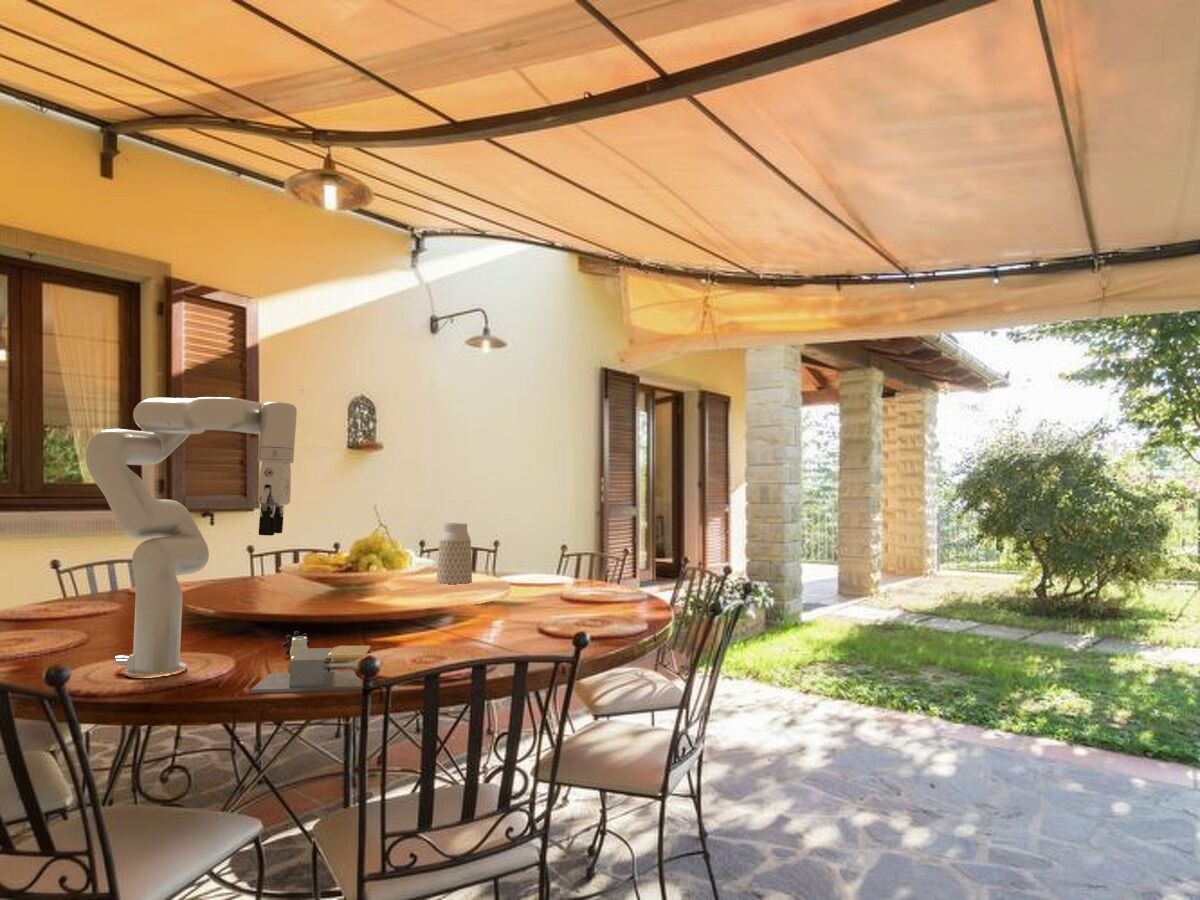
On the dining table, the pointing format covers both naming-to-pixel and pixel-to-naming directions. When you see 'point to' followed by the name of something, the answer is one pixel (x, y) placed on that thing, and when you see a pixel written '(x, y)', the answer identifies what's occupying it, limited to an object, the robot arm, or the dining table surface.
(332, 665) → the pin
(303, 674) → the grey base plate
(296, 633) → the valve
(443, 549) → the vase
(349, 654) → the keeper flap
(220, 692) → the dining table surface
